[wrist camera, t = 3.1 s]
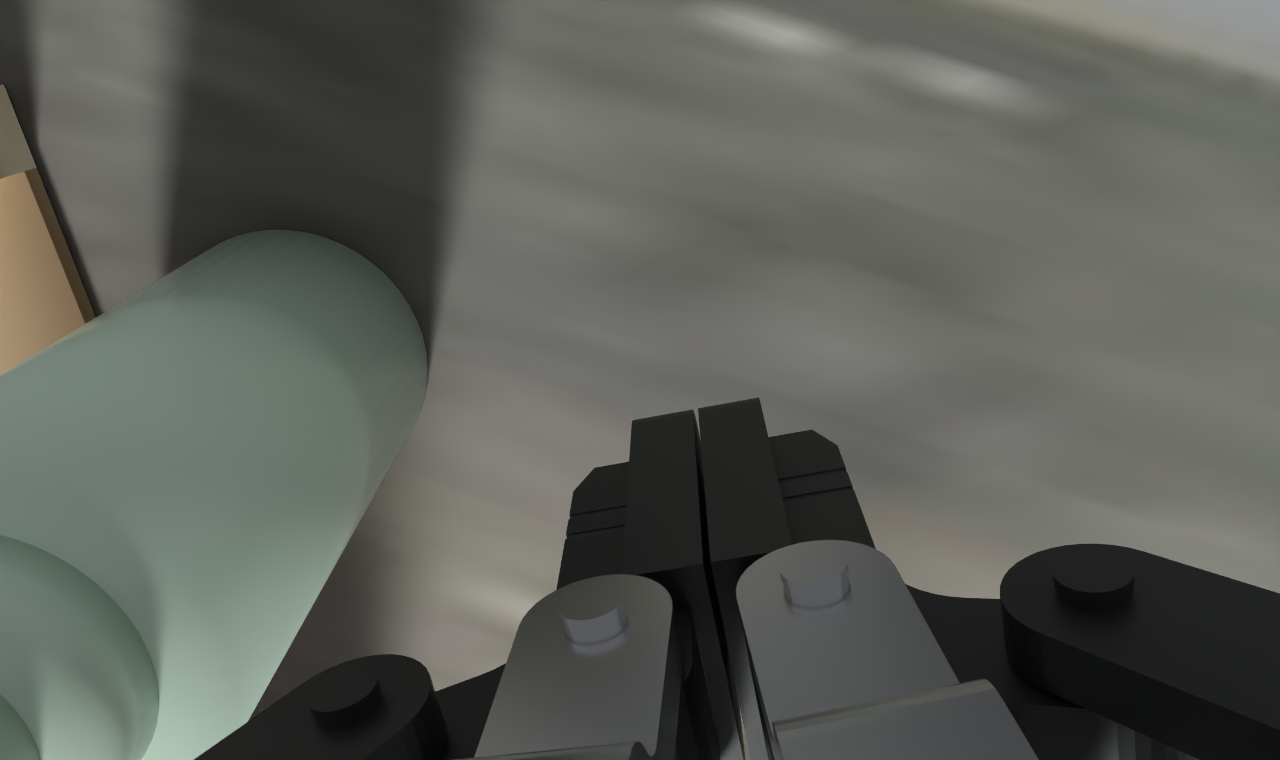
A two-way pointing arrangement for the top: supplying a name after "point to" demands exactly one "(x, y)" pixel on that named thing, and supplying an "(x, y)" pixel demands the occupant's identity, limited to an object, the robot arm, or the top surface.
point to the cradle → (31, 256)
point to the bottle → (190, 491)
